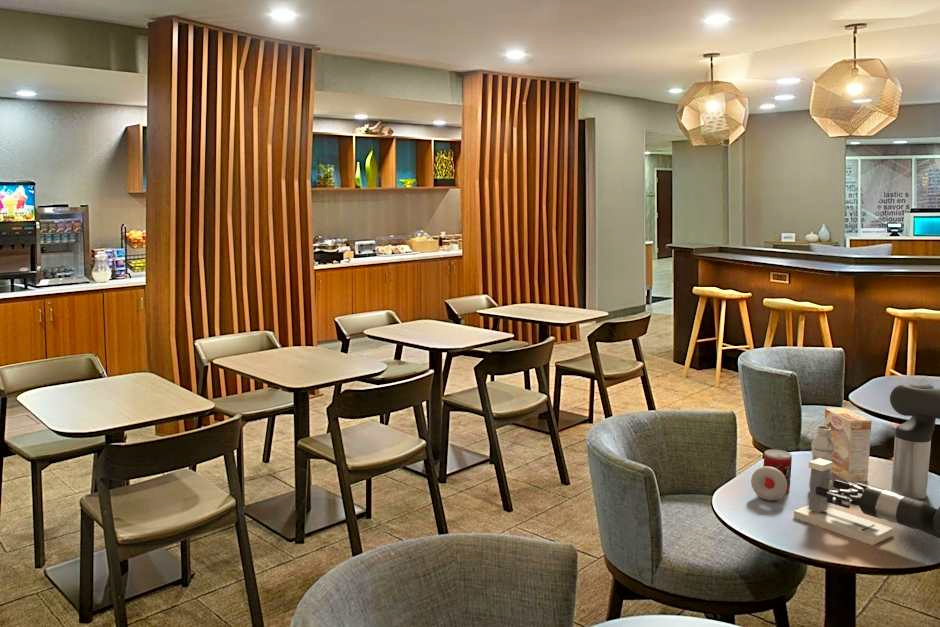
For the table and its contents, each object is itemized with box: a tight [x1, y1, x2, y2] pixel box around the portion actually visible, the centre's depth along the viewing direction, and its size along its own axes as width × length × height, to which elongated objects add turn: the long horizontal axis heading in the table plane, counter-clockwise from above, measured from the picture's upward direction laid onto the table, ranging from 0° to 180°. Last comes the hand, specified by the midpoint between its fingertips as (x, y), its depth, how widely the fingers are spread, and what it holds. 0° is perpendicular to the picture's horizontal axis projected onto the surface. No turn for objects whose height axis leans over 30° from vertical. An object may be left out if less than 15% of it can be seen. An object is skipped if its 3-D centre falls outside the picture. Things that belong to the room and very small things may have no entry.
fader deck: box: [793, 504, 894, 546], centre depth 216 cm, size 10×22×2 cm, turn 36°
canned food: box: [763, 449, 793, 493], centre depth 244 cm, size 8×8×11 cm
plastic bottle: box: [808, 425, 835, 490], centre depth 239 cm, size 6×7×20 cm
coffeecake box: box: [823, 407, 873, 483], centre depth 256 cm, size 15×7×20 cm, turn 6°
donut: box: [750, 465, 787, 501], centre depth 235 cm, size 10×4×10 cm, turn 57°
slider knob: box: [808, 458, 833, 513], centre depth 221 cm, size 5×4×14 cm
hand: (825, 486), depth 219 cm, fingers open, 8 cm apart
